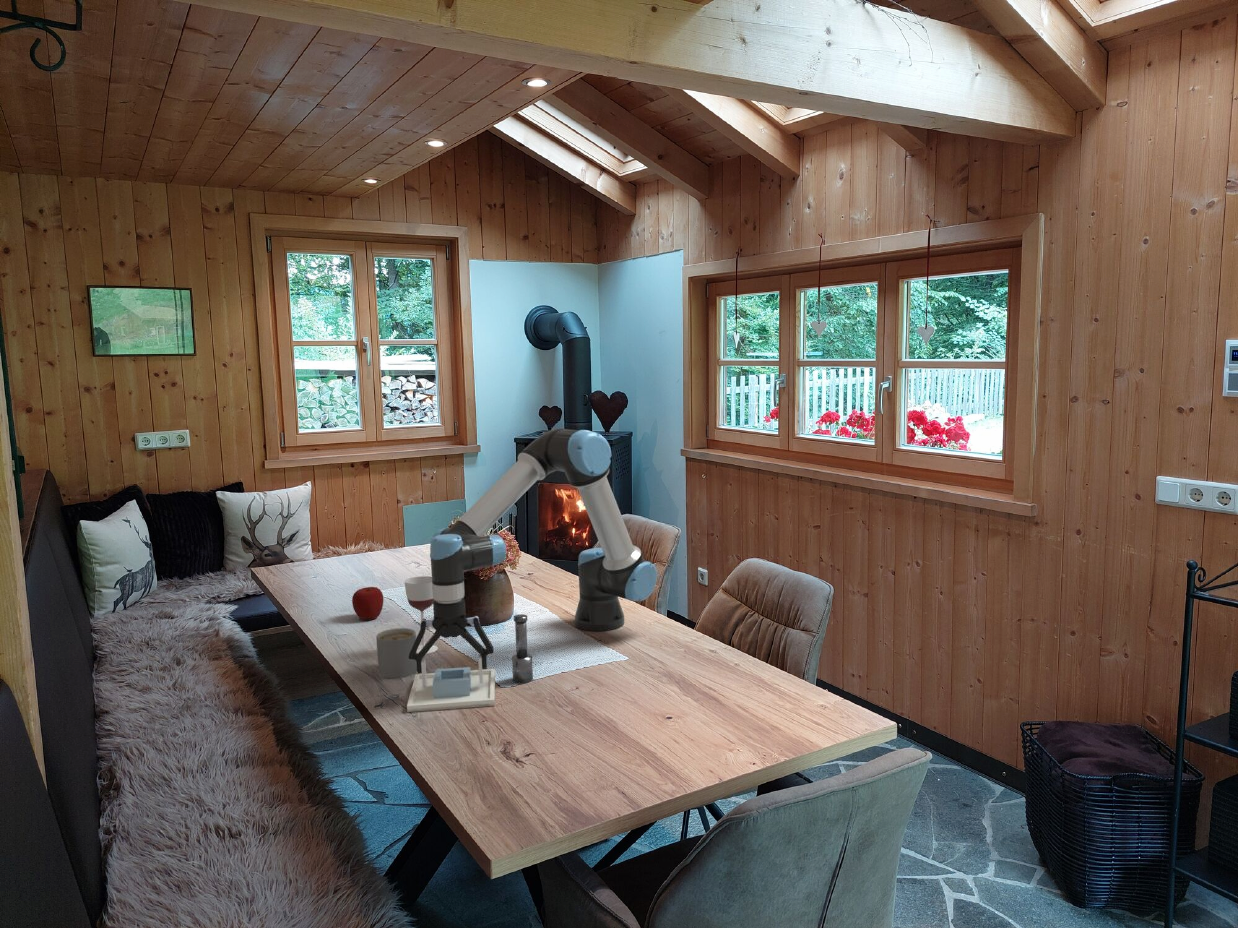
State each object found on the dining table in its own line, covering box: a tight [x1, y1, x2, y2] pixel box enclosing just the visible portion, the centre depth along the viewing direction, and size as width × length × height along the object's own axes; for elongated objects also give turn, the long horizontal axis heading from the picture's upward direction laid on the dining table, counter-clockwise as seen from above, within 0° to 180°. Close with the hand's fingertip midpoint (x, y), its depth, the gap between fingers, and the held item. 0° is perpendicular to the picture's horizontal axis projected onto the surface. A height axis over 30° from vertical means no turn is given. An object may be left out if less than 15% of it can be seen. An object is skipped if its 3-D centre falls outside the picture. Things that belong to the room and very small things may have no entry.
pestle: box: [511, 614, 534, 684], centre depth 216 cm, size 5×5×16 cm
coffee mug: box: [375, 627, 417, 679], centre depth 226 cm, size 13×10×10 cm
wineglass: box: [404, 575, 439, 655], centre depth 239 cm, size 8×9×20 cm
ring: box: [433, 666, 471, 698], centre depth 209 cm, size 8×8×4 cm
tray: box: [406, 668, 496, 713], centre depth 209 cm, size 20×20×2 cm
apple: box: [351, 586, 384, 621], centre depth 270 cm, size 10×10×10 cm
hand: (453, 683), depth 209 cm, fingers open, 13 cm apart
